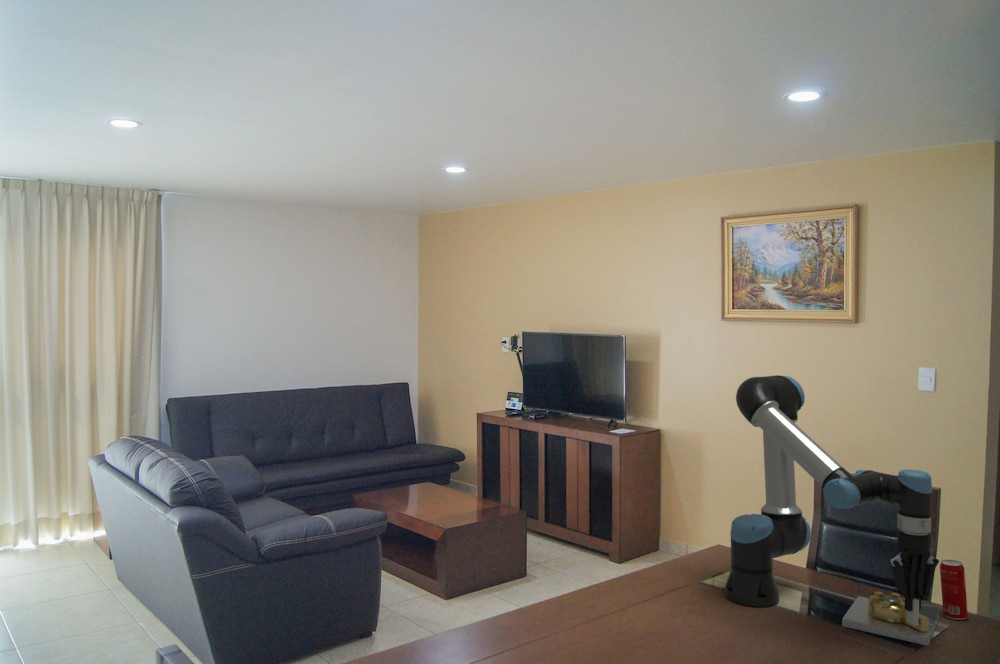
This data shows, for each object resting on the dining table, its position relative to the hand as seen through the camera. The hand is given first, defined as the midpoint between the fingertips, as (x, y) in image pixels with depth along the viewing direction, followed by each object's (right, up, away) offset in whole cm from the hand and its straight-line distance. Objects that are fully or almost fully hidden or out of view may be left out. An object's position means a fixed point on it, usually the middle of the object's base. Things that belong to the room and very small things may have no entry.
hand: (912, 623), depth 187 cm
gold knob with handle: (0, -1, +6) cm, 7 cm away
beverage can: (+19, -4, +13) cm, 23 cm away
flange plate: (-1, -4, +9) cm, 10 cm away
